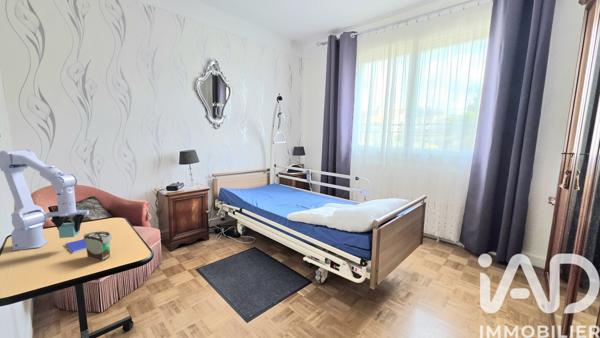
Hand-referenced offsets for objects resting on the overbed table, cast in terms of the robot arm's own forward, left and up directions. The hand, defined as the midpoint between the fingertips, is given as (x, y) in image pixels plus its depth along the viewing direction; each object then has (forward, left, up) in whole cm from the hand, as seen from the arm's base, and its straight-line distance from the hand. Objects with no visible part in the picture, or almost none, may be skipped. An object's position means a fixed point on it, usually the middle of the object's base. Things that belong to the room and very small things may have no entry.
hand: (69, 231), depth 111 cm
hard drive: (+2, +3, -9) cm, 10 cm away
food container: (+15, -11, -9) cm, 21 cm away
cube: (0, 0, -2) cm, 2 cm away
